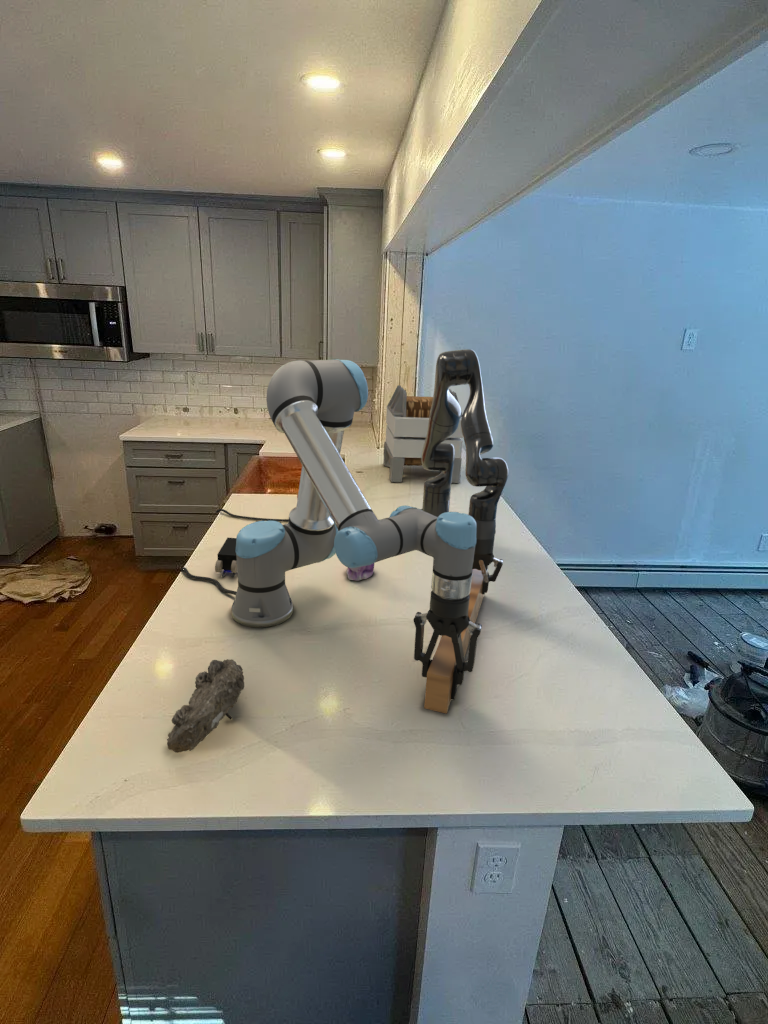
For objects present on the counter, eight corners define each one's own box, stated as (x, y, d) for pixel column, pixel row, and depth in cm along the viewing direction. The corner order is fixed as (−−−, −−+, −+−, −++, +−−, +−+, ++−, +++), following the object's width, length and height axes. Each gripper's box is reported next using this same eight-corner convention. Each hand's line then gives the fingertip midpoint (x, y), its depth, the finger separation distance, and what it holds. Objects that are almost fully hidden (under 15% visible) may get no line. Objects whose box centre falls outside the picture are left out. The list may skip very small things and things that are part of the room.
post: (467, 593, 160) (470, 566, 157) (483, 596, 159) (486, 569, 156) (424, 708, 113) (427, 672, 110) (446, 713, 112) (450, 677, 109)
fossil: (192, 660, 117) (244, 628, 112) (224, 691, 120) (276, 661, 115) (142, 746, 98) (202, 712, 93) (182, 779, 101) (242, 748, 96)
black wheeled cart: (238, 584, 162) (249, 557, 175) (236, 562, 158) (247, 536, 172) (215, 584, 161) (227, 556, 175) (212, 561, 158) (225, 535, 171)
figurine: (352, 584, 162) (353, 535, 156) (338, 570, 170) (339, 523, 165) (381, 578, 166) (384, 531, 161) (366, 565, 174) (368, 519, 169)
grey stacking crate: (382, 463, 289) (386, 382, 275) (445, 464, 293) (451, 384, 279) (390, 482, 257) (394, 392, 243) (460, 483, 261) (468, 394, 247)
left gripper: (401, 592, 108) (395, 693, 116) (494, 609, 103) (481, 714, 111) (411, 576, 115) (404, 673, 123) (498, 591, 110) (486, 691, 118)
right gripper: (450, 533, 146) (445, 592, 152) (506, 542, 142) (498, 602, 148) (455, 524, 153) (450, 581, 158) (509, 532, 149) (502, 590, 155)
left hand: (441, 692), depth 117 cm, fingers closed on post, 5 cm apart
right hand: (473, 591), depth 153 cm, fingers closed on post, 4 cm apart
